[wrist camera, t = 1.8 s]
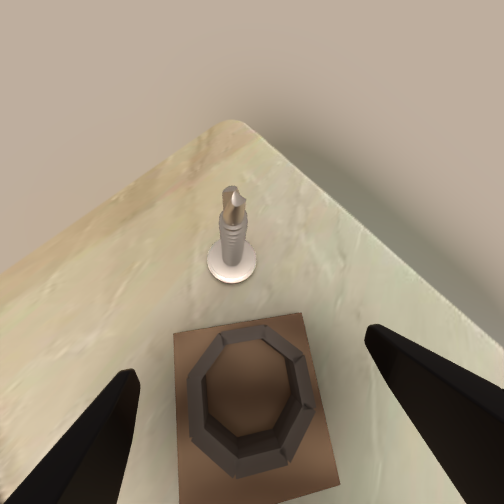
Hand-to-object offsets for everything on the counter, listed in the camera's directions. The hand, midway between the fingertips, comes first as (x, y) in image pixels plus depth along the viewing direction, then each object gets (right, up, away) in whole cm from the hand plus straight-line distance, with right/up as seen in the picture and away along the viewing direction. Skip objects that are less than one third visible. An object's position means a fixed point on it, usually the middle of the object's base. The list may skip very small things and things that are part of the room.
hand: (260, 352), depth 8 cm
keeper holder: (-1, -9, +11) cm, 14 cm away
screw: (-3, +2, +15) cm, 15 cm away
